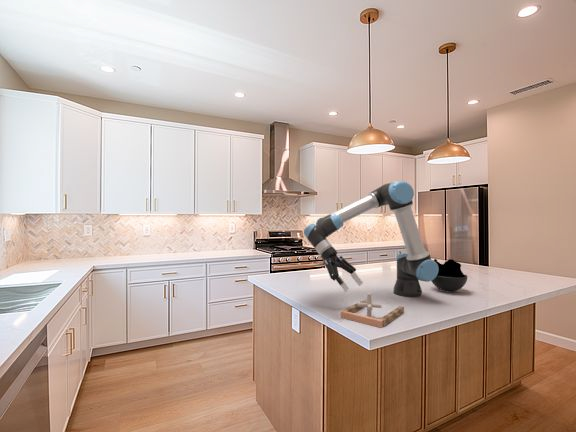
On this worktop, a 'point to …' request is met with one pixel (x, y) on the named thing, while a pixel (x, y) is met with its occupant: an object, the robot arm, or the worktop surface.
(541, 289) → the worktop surface
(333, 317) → the worktop surface
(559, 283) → the worktop surface
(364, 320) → the band bar
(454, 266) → the bowl of black rocks
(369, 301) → the pipe connector
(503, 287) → the worktop surface
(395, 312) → the brown wooden frame
